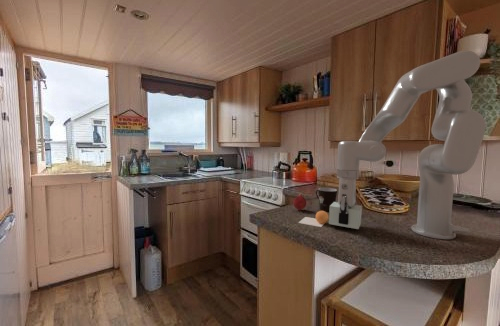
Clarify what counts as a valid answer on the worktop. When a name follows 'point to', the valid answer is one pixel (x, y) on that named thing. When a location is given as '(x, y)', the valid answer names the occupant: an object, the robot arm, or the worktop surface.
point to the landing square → (311, 222)
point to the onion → (299, 202)
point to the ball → (322, 217)
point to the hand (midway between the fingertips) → (345, 220)
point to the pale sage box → (353, 218)
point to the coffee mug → (326, 198)
